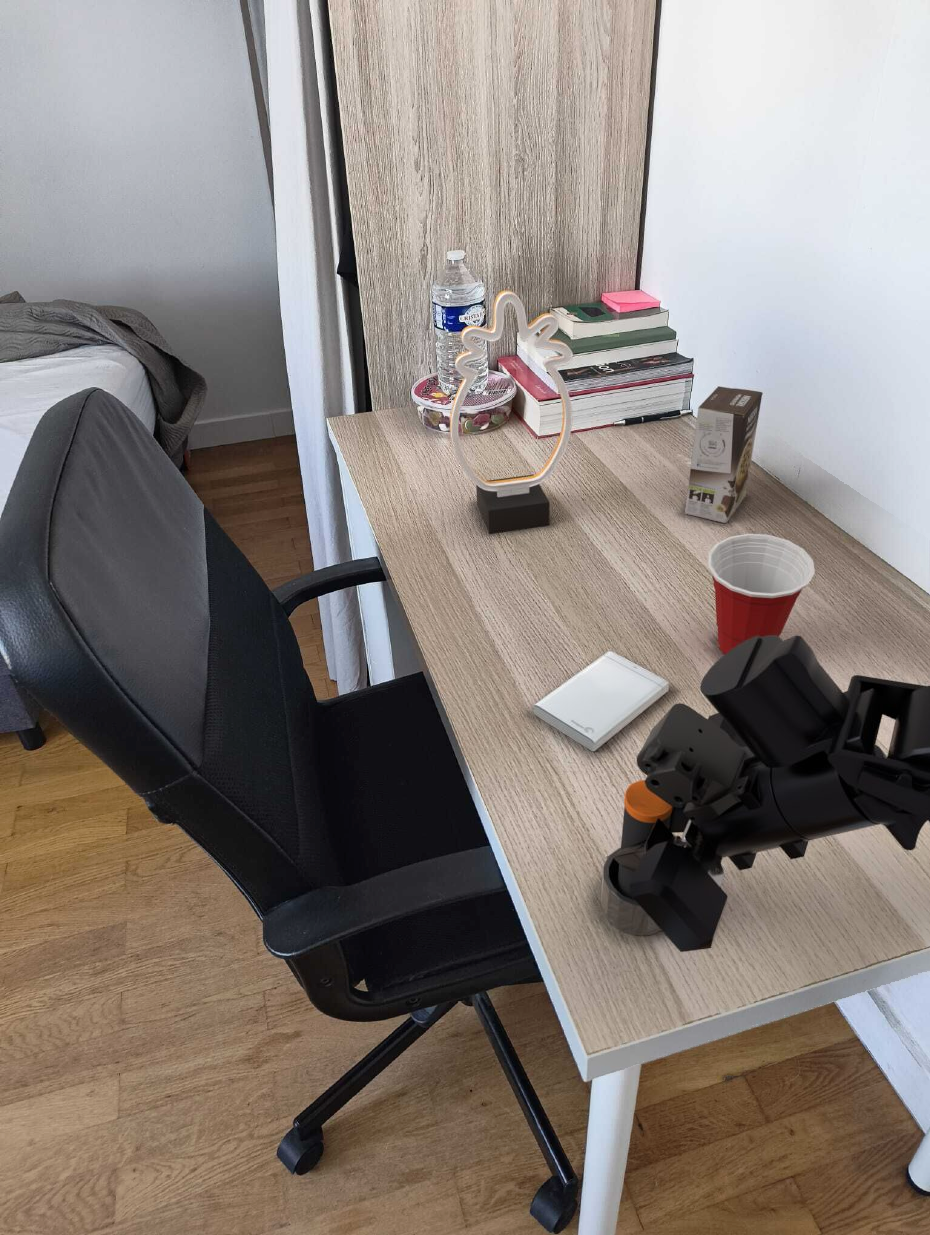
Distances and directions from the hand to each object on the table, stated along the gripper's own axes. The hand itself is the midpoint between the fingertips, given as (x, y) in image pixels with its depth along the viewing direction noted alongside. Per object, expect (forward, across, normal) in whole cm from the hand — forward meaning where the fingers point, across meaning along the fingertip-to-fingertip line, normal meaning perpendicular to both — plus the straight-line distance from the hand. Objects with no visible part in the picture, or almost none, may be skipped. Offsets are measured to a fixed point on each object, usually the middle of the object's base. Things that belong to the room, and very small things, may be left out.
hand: (626, 842), depth 66 cm
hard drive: (+13, -22, -2) cm, 25 cm away
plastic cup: (+5, -37, +5) cm, 38 cm away
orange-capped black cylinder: (+4, 0, +6) cm, 7 cm away
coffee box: (+14, -68, -3) cm, 70 cm away
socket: (+4, 0, +6) cm, 7 cm away
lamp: (+32, -54, -22) cm, 66 cm away
